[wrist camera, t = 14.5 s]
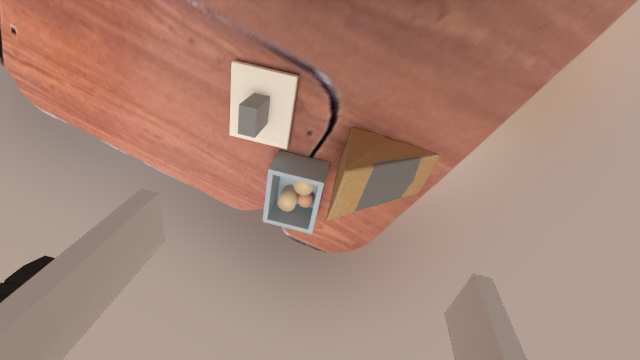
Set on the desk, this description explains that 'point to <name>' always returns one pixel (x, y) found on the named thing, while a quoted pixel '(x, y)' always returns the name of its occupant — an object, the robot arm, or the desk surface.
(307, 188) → the box
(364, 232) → the desk surface
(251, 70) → the lid
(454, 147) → the desk surface
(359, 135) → the sandwich container
